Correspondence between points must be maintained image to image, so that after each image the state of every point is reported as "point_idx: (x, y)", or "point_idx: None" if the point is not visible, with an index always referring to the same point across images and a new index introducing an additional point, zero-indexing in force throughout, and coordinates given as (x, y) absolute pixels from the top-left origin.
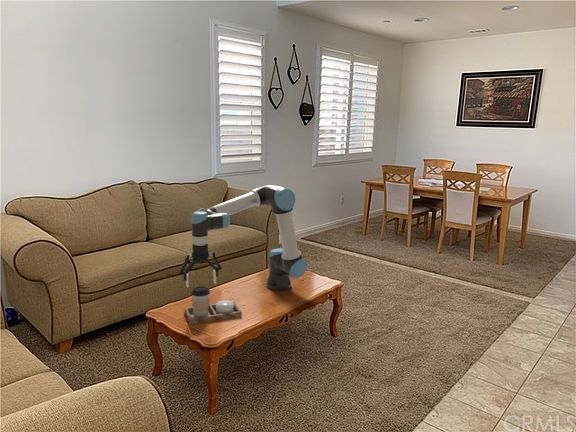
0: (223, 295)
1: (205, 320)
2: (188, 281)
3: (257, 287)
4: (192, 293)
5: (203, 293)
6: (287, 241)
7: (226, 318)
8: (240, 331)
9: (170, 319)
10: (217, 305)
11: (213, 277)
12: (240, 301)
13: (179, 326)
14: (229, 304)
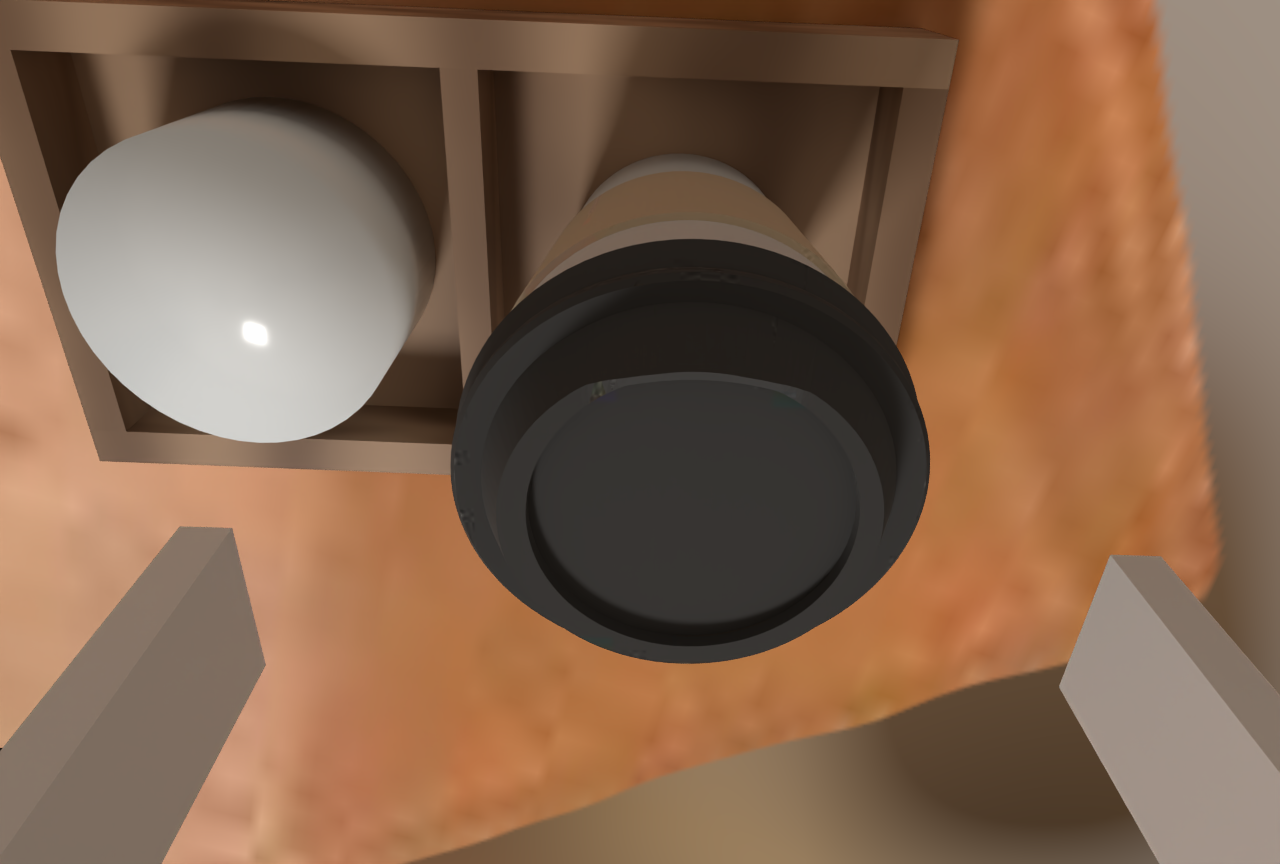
0: (271, 741)
1: (660, 23)
2: (1239, 716)
3: None
4: (916, 448)
5: (665, 300)
6: None
7: (287, 5)
8: None
9: (1076, 360)
10: (372, 275)
11: (188, 794)
12: (59, 548)
13: (1066, 82)
14: (139, 238)
